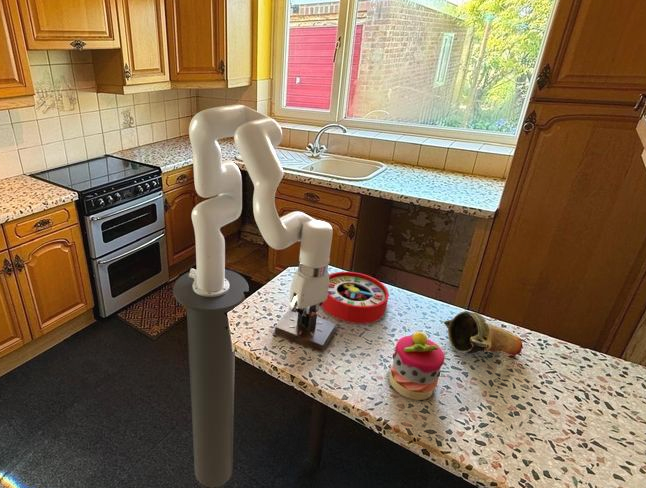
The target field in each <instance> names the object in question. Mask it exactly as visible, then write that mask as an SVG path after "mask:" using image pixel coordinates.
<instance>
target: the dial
mask: <svg viewBox="0 0 646 488" xmlns="http://www.w3.org/2000/svg"><path fill="white" fill-rule="evenodd" d="M302 310H303V309H302ZM316 313H317V312H316ZM316 313H315V312H313V311H312V310H311V309H310V308H309V307H307V314H306V315H307V316H308V320H307V327H306V329H307V330H308V331H312V330H314V329H315V328H316V320H317V317H318V314H316ZM298 315H299V313H298ZM297 321H298V319H297Z"/></svg>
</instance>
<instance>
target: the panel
mask: <svg viewBox="0 0 646 488" xmlns="http://www.w3.org/2000/svg"><path fill="white" fill-rule="evenodd" d="M297 319H298V312H292V311H291V310H290V309H288V311H287V312H285V315H284V316H283V317H282V318H281V319H280V321H279V322H278V323H277V324H276V325H275V327H274V335H277V336H280V337H281V338H284V339H286V340H289V341H292V342H295V343H297V344H299V345H302V346H304V347H307V348H309V349H312V350H314V351H317V352H319V353H323V351H324V350H325V348H326V346H327V345H328V343H329V342H330V340H331V338H332V337H333V335H334V333H335V332H336V330H337V325H338V324H337V322H334V321H332V320H328V319H325V318H322V317H320V316H317V320H316V328H315V329H314V330H312V331H308V330H307V329H306V328H304V327H303V326H302V325H301V324H299V323H298V321H297Z"/></svg>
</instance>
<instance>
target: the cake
mask: <svg viewBox="0 0 646 488" xmlns="http://www.w3.org/2000/svg"><path fill="white" fill-rule="evenodd" d="M392 360H393V361H392V362H393V363H392V364H393V365H392V366H391V367H390V368H389V370H390V372H389V375H388V376H389V384H390V385H391V387H392V388H393V389H394V390H395V391H396V392H397V393H399V394H400V395H401V396H403V397H405V398H408V399H412V400H415V401H423V400H426V399H429V398H430V397H432V395H433V392H434V389H436V388H437V386H438V383H439V378H440V376H441V368H442V367H443V365H444V364H445V360H446V356H445V353H444V351H443V349H442V347H440V346H439V345H438V344H437V343H435V342H434V341H433V340H431V339H428V337H427V335H426V333H424V332H423V331H416V332H415V333H413V335H405V336H403V337H400V338H399V339H398V340H397V342H396V346H395V349H394V352H393V354H392Z"/></svg>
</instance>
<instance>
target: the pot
mask: <svg viewBox="0 0 646 488" xmlns="http://www.w3.org/2000/svg"><path fill="white" fill-rule="evenodd" d="M443 324H444V326H445V327H446V328H447V331H448V333H447V335H448V340H449V344H450V346H451V347H452V348H453V349H454V350H455V351H457V352H458V353H462V354H463V353H465V354H476V353H478V352H482V353H486V352H487V353H491V352H492V353H495V352H498V353H501V352H502V353H505V354H507V355H509V356H513V357H516V356H517V355H520V354H521V353H522V350H523V347H524V345H523V341H522V340H521V338H520V337H519V336H517V335H516V334H514V333H512V332H511V331H508V330H506V329H504V328H503V327H500V326H497V325H495V324H492V323H488V322H486V318H485V317H484V316H483V315H482V314H480V313H478V312H473V311H469V310H464V311H461V312H459V313H457V314H456V315H455V316H454V317H453V318H451V319H448V320H445V321H443Z"/></svg>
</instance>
